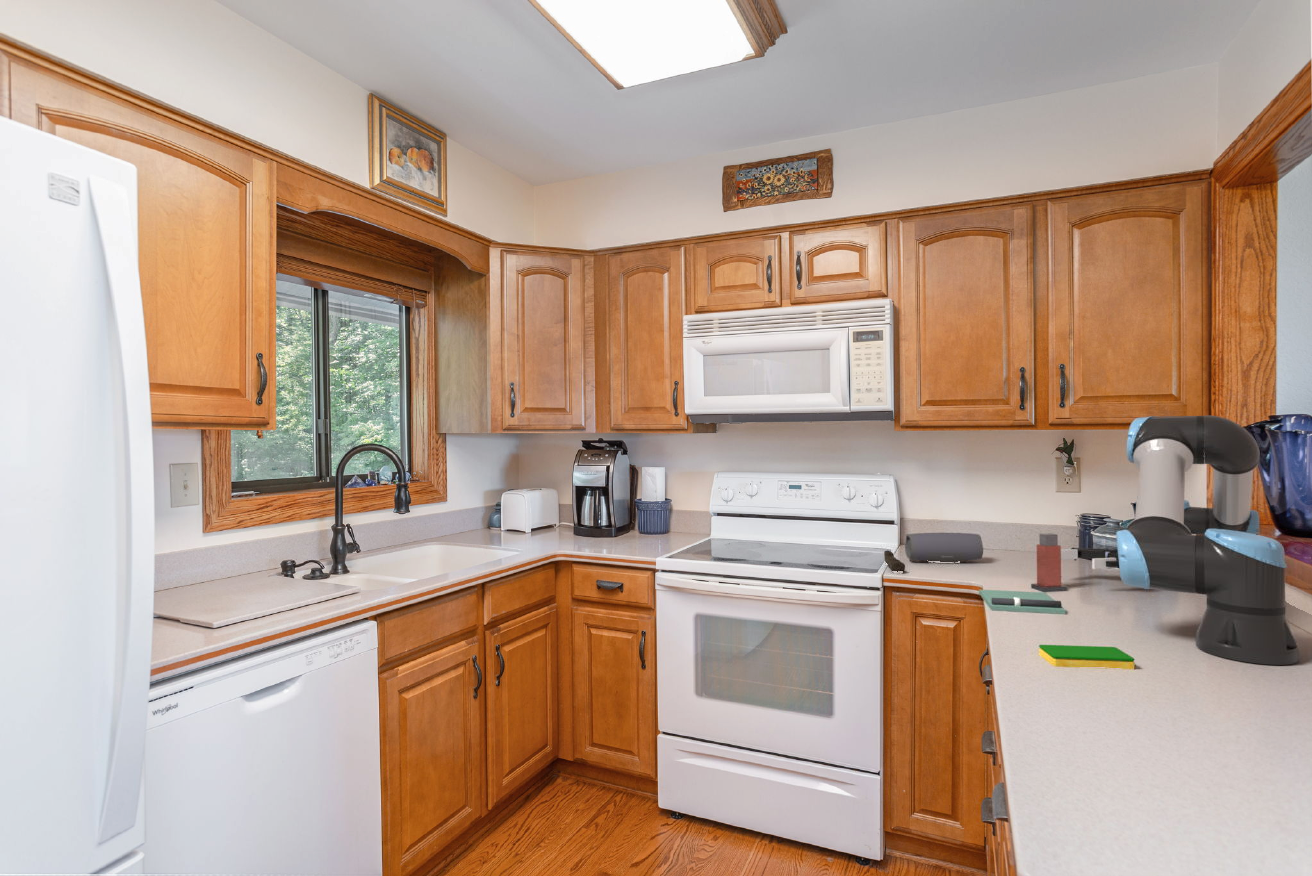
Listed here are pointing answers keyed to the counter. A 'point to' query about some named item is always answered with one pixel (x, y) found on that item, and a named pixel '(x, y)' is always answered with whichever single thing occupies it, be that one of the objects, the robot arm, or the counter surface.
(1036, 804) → the counter surface
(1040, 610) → the cutting mat
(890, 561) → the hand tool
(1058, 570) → the grey-capped red pillar
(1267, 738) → the counter surface
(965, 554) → the bluetooth speaker
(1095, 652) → the dish sponge
